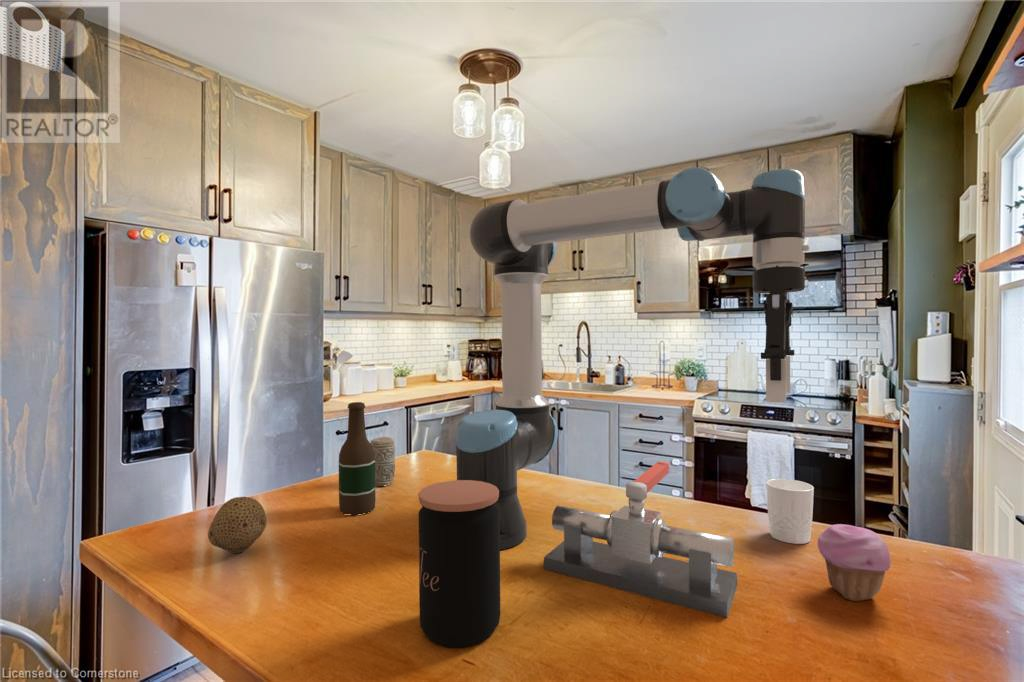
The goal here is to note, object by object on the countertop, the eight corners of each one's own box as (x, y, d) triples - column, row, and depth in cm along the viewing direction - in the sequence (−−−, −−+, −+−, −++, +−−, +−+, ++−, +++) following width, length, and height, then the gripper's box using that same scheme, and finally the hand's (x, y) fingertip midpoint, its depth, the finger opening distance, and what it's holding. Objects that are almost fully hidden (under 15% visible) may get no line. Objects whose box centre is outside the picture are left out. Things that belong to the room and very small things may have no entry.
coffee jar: (423, 607, 71) (422, 481, 71) (498, 602, 72) (497, 478, 72) (415, 654, 60) (413, 506, 60) (503, 649, 61) (501, 503, 61)
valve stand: (544, 569, 82) (543, 493, 82) (569, 547, 91) (569, 478, 91) (727, 617, 68) (726, 525, 68) (737, 586, 76) (736, 504, 76)
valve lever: (643, 500, 77) (643, 489, 77) (623, 497, 79) (623, 486, 79) (673, 472, 93) (673, 462, 93) (655, 469, 94) (655, 460, 94)
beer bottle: (382, 508, 112) (381, 402, 112) (355, 519, 106) (354, 406, 106) (359, 502, 117) (358, 399, 116) (331, 512, 110) (330, 403, 110)
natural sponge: (275, 552, 90) (274, 497, 90) (220, 569, 83) (219, 510, 83) (256, 538, 96) (255, 487, 96) (203, 553, 89) (203, 498, 89)
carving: (382, 489, 126) (382, 442, 126) (362, 485, 130) (362, 439, 130) (401, 483, 131) (400, 438, 131) (381, 479, 136) (380, 435, 136)
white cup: (821, 547, 90) (820, 491, 90) (773, 544, 91) (773, 489, 91) (804, 530, 97) (804, 479, 97) (761, 528, 99) (760, 477, 99)
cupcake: (806, 579, 78) (806, 515, 78) (863, 579, 78) (863, 515, 78) (842, 610, 69) (842, 538, 69) (906, 611, 69) (906, 538, 69)
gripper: (803, 255, 69) (803, 408, 69) (806, 274, 91) (806, 390, 91) (743, 260, 73) (744, 404, 73) (760, 276, 94) (760, 388, 95)
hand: (779, 397), depth 82 cm, fingers open, 13 cm apart
